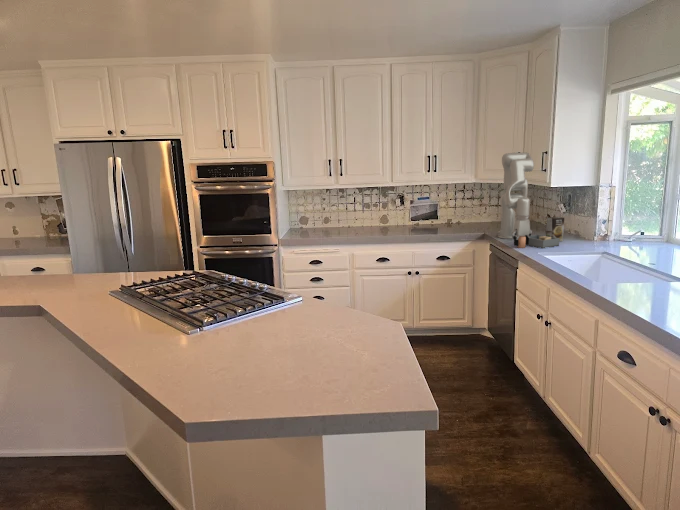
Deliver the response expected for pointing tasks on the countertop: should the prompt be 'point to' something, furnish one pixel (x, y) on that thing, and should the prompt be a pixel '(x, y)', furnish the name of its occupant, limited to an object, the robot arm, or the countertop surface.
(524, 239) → the terracotta cylinder
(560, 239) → the coffee box
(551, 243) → the tote
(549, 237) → the maple cube
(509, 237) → the robot arm
